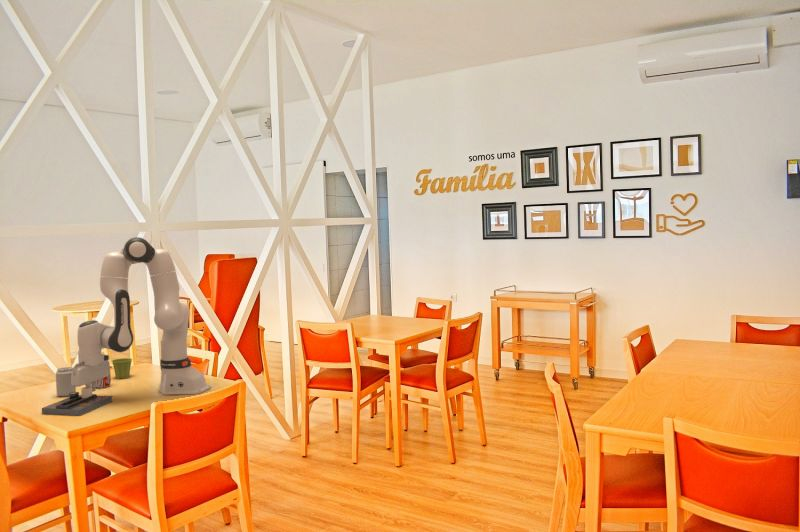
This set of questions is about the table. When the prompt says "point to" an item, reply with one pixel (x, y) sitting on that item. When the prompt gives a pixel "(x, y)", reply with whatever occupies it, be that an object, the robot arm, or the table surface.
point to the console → (76, 404)
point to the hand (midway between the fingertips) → (91, 391)
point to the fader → (86, 392)
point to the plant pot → (122, 367)
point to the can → (64, 382)
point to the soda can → (104, 382)
